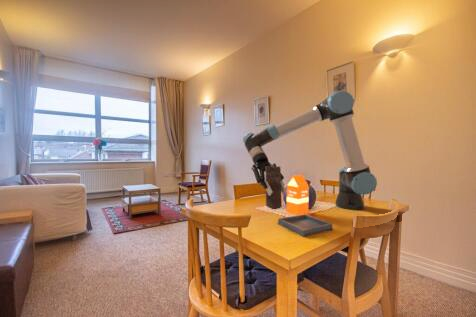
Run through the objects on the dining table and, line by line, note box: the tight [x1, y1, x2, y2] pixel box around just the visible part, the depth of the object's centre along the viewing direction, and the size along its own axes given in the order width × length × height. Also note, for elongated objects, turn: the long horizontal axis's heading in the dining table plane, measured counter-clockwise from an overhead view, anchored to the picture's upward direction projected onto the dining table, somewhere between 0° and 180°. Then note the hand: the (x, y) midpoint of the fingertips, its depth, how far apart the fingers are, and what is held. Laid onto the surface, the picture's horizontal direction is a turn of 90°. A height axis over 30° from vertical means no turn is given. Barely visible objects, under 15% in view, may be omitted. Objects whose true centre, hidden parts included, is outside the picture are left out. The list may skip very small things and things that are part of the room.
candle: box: [264, 165, 283, 210], centre depth 107 cm, size 8×7×20 cm
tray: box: [277, 213, 333, 237], centre depth 98 cm, size 16×16×2 cm
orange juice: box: [286, 174, 310, 216], centre depth 119 cm, size 8×9×20 cm
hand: (277, 193), depth 104 cm, fingers closed on candle, 7 cm apart
